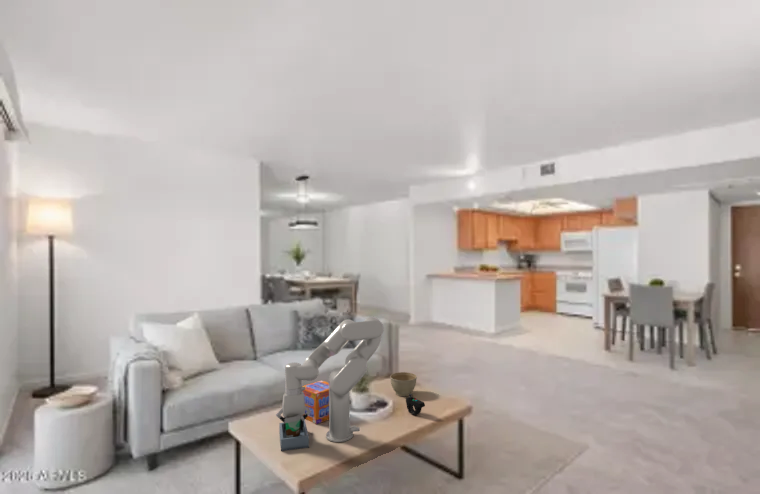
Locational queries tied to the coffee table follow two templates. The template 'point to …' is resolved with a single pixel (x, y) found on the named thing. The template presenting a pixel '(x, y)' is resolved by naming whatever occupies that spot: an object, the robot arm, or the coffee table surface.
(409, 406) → the controller
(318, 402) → the game box
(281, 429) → the bin
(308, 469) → the coffee table surface
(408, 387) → the planter bowl
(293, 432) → the latticed semicircular wedge
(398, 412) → the coffee table surface
